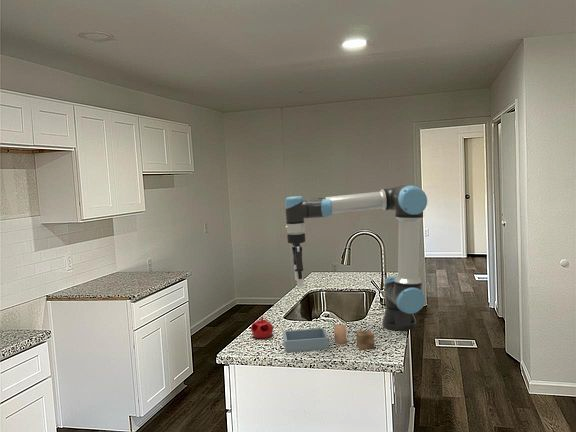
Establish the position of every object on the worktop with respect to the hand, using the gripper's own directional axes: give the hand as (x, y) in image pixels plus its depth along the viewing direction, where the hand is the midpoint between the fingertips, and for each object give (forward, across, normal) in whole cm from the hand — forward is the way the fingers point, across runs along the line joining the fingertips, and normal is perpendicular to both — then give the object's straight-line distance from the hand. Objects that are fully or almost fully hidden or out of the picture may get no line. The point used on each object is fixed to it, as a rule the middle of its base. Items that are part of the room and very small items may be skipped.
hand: (299, 283), depth 217 cm
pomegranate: (+27, -14, -17) cm, 35 cm away
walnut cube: (+27, +9, +25) cm, 38 cm away
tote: (+26, +2, +1) cm, 26 cm away
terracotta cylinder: (+27, +2, +16) cm, 31 cm away
